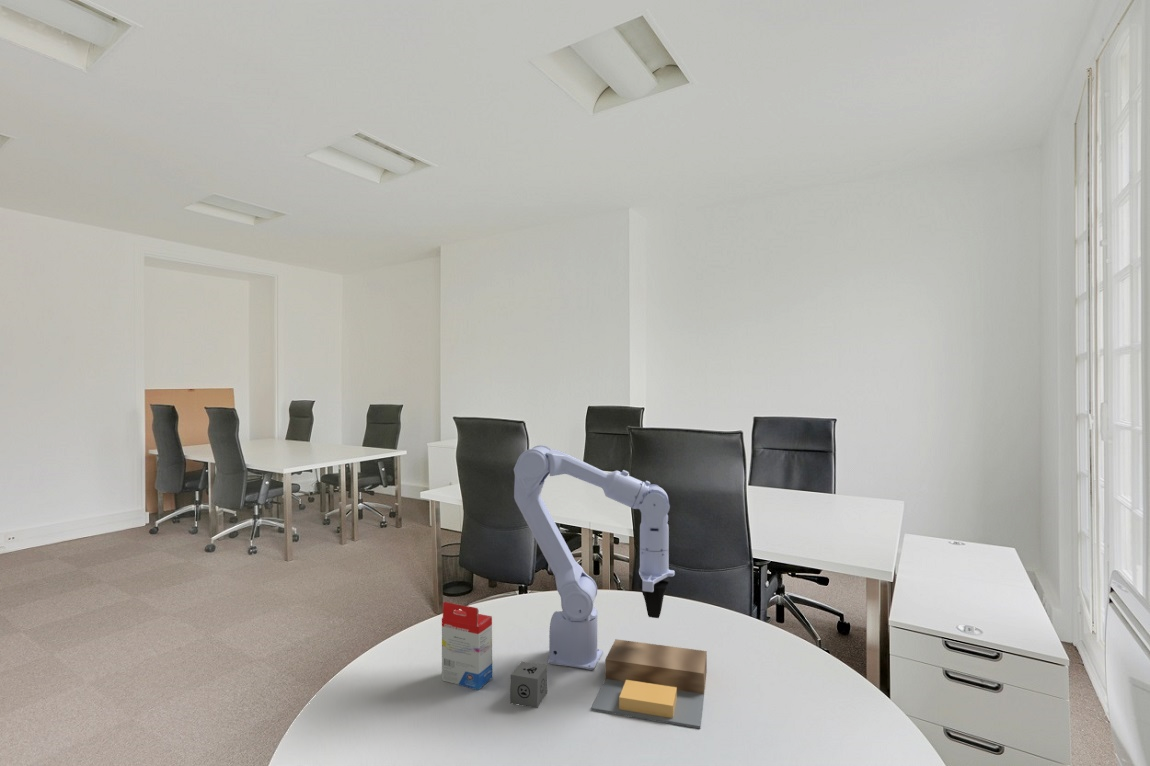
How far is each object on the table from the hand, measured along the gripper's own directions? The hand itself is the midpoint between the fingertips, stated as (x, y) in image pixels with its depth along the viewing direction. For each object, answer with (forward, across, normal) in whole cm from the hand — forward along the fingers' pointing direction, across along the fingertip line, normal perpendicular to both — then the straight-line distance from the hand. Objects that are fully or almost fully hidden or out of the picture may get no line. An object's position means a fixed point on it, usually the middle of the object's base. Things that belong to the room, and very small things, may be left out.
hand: (654, 616), depth 110 cm
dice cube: (+10, -19, +19) cm, 29 cm away
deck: (+9, -5, -1) cm, 11 cm away
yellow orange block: (+7, -15, -2) cm, 17 cm away
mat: (+9, -14, -2) cm, 17 cm away
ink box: (+10, -17, +32) cm, 38 cm away
